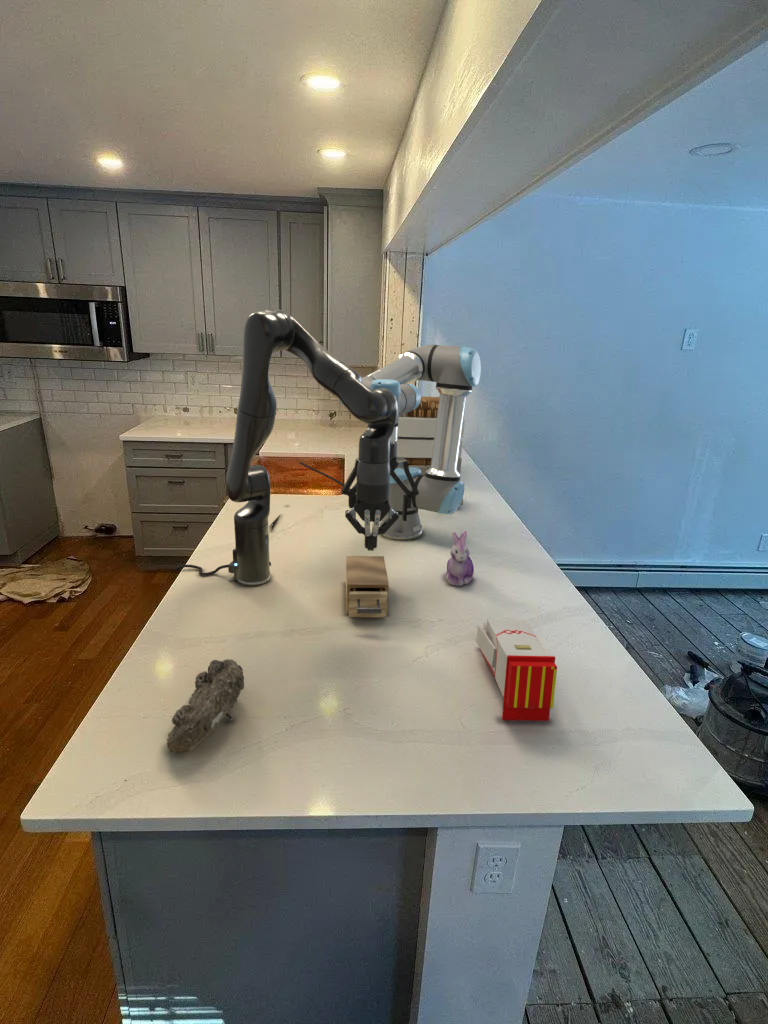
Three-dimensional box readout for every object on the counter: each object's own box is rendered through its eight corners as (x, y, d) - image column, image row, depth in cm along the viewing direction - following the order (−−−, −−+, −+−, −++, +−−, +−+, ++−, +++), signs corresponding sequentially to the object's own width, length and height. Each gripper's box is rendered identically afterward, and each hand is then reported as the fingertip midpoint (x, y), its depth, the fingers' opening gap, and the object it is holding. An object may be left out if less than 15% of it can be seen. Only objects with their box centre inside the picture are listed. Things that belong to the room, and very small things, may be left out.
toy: (523, 604, 135) (566, 662, 106) (518, 656, 138) (559, 727, 109) (472, 603, 135) (501, 661, 105) (468, 655, 138) (496, 726, 108)
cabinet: (387, 614, 147) (388, 584, 144) (346, 614, 146) (347, 584, 143) (382, 583, 163) (383, 556, 160) (345, 583, 162) (346, 555, 159)
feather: (288, 508, 223) (290, 504, 222) (270, 532, 196) (273, 528, 196) (284, 506, 223) (286, 502, 222) (266, 530, 196) (268, 525, 195)
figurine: (455, 589, 161) (460, 541, 156) (436, 574, 170) (440, 528, 165) (482, 583, 166) (487, 536, 160) (462, 569, 174) (466, 524, 169)
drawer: (387, 629, 138) (389, 605, 136) (349, 629, 138) (349, 605, 135) (381, 587, 159) (382, 565, 157) (348, 587, 158) (348, 565, 156)
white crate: (382, 463, 289) (386, 382, 275) (445, 464, 293) (451, 384, 279) (390, 482, 257) (394, 392, 243) (460, 483, 261) (468, 394, 247)
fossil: (192, 660, 117) (244, 628, 112) (224, 691, 120) (276, 661, 115) (142, 746, 98) (202, 712, 93) (182, 779, 101) (242, 748, 96)
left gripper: (344, 483, 124) (342, 555, 130) (404, 484, 125) (399, 556, 131) (343, 473, 131) (342, 542, 137) (400, 475, 132) (396, 543, 138)
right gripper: (334, 444, 140) (333, 524, 147) (433, 445, 143) (427, 524, 150) (333, 437, 147) (332, 514, 154) (427, 439, 150) (422, 514, 157)
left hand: (370, 549), depth 134 cm, fingers closed
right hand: (379, 519), depth 152 cm, fingers open, 13 cm apart
